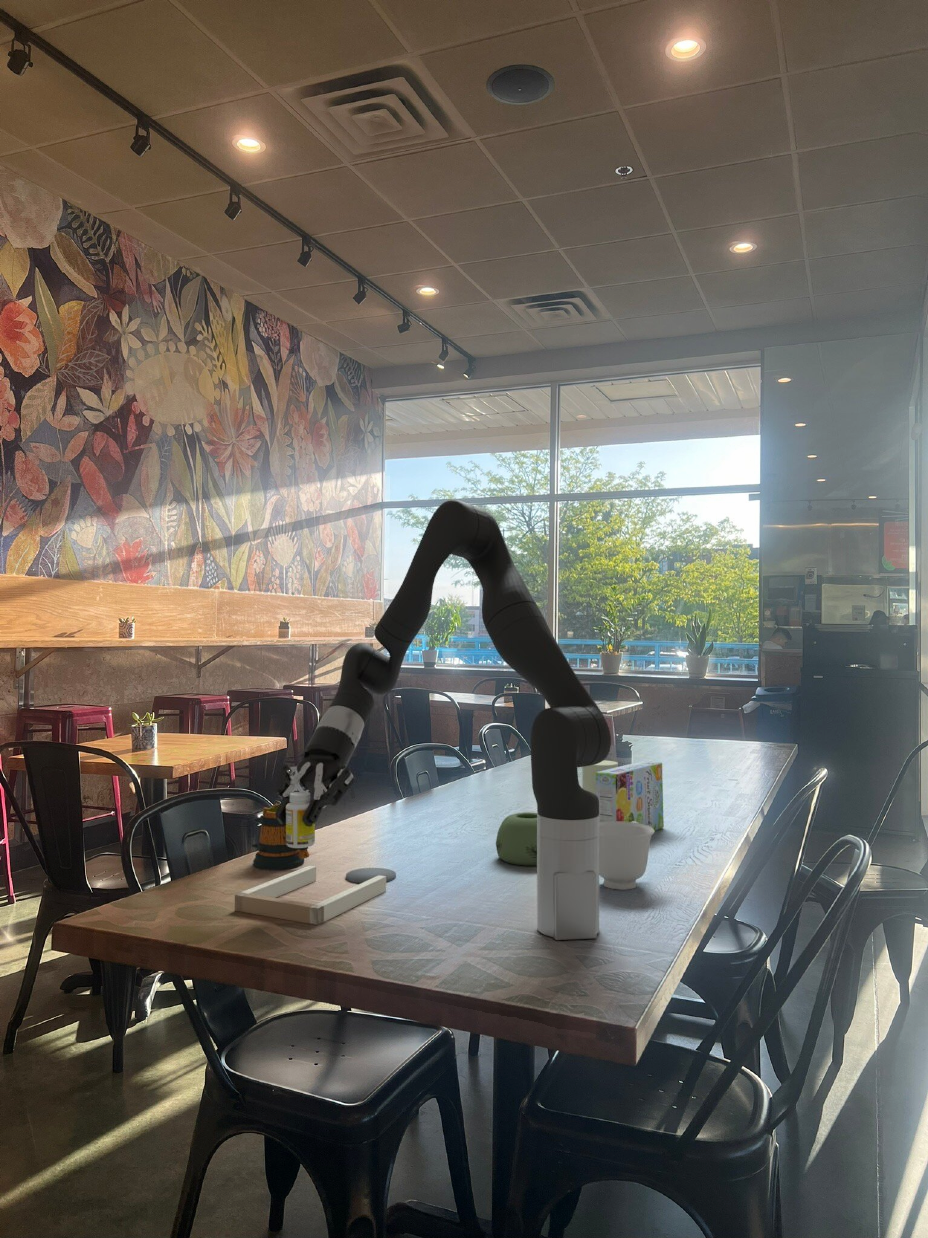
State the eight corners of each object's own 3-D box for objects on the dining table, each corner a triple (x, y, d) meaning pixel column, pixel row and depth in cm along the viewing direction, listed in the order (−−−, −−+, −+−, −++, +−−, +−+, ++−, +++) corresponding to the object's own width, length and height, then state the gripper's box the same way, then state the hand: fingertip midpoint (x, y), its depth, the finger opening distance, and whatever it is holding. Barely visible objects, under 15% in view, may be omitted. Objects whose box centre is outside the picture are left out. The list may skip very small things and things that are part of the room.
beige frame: (309, 879, 160) (309, 865, 160) (386, 891, 153) (386, 876, 153) (234, 910, 142) (234, 894, 142) (317, 925, 135) (318, 908, 135)
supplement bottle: (319, 843, 146) (319, 791, 146) (306, 849, 141) (306, 796, 142) (294, 841, 147) (294, 790, 147) (280, 848, 143) (280, 795, 143)
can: (574, 806, 229) (574, 759, 229) (604, 803, 233) (604, 757, 233) (594, 813, 221) (594, 764, 221) (625, 810, 225) (625, 762, 225)
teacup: (669, 878, 162) (669, 822, 162) (641, 899, 149) (641, 839, 149) (606, 869, 168) (606, 815, 168) (574, 888, 155) (574, 830, 155)
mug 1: (240, 866, 169) (240, 805, 170) (277, 854, 178) (277, 796, 178) (292, 875, 163) (293, 812, 163) (328, 863, 172) (328, 803, 172)
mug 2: (543, 872, 166) (543, 825, 166) (483, 862, 173) (483, 817, 173) (578, 853, 180) (578, 810, 180) (521, 845, 187) (521, 804, 187)
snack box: (642, 825, 207) (642, 760, 207) (664, 828, 203) (664, 762, 204) (594, 841, 190) (594, 770, 191) (617, 845, 187) (617, 773, 187)
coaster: (397, 883, 158) (397, 880, 158) (346, 885, 157) (346, 882, 157) (394, 869, 167) (394, 867, 167) (345, 871, 166) (345, 868, 166)
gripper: (292, 723, 155) (246, 805, 143) (362, 726, 148) (320, 812, 137) (310, 750, 159) (267, 832, 148) (379, 754, 153) (340, 839, 142)
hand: (293, 822), depth 143 cm, fingers closed on supplement bottle, 4 cm apart
